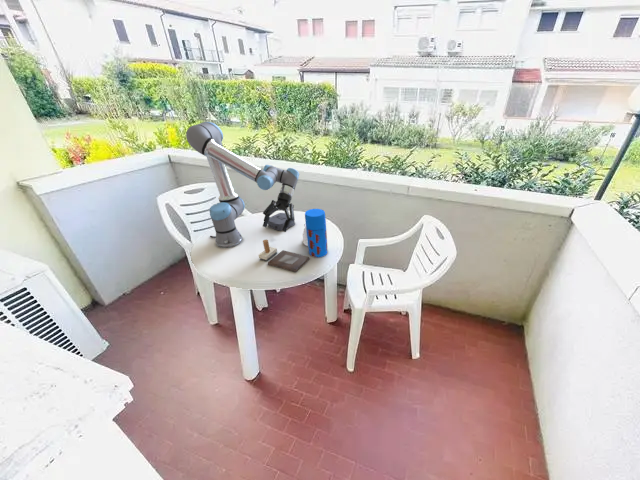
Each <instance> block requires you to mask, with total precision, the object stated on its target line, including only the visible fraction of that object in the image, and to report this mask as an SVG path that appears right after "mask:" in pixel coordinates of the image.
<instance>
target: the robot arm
mask: <svg viewBox="0 0 640 480" xmlns="http://www.w3.org/2000/svg"><path fill="white" fill-rule="evenodd" d="M185 137H186V141H187V142H188V144H189V146H190V147H191V148H192V149H193V150H194V151H196V152H197V153H198V154H200V155H202V156H203V157H205V158H206V160H207V162H208V166H209V168H210V170H211V173H212V177H213V179H214V182H215V185H216V188H217V191H218V193H219V196H218V201H219V202H216V203H214V204H213V205H211V206H210V207H209V210H208V211H209V216H210V218H211V221H212V224H213V228H214V231H215V236H213V235H209V238H213V239H215V244H216V247H218V248H223V249H224V248H225V249H226V248H232V247H235V246H238V245H240V244H241V243H242V242H243V236H242V235H241V233H240V232H239V230H238V229H237V226H236V222H235V221H236V219H237V218H239V216H240V215H242V213H243V212H244V210H245V207H246V206H245V205H246V204H245V201H244V200H243V198H241V197H240V196H239V193H237V192H235V189H234V186H233V182H232V180H231V179H232V178H231V177H230V173H229V170H228V168H229V169H231V170H233V171H234V172H237V173H239V174H241V175H242V176H244V177H245V178H248V179H250V180H251V181H253V182H255V183H256V185H257V187H258V188H259V190H263V191H268V190H270V189H271V188H272V187H273V186H274V185H275V183H280V184H281V186H280V189H279V192H278V195H277V200H274V199H272V200H271V202H270V204H269V205H268V206H267V207H266V208H265V209H264V210H263V212H262V214H263V215H264V218H263V224H262V227H263V228H265V229H267V227H268V222H269V219H270V217H271V215H272V216H273V214H274V213H275V212H277V211H283V212H284V213H285V214H286V217H287V220H286V221H285V224H284V227H283V230H282V232H284V233H287V231H288V229H289V228H290V227H289V225H290V222H291V221H294V220H295V212H294V210H295V209H294V207H295V205H294V204H293V203H291V202H292V199H293V195H294V192H295V190H296V187H297V184H298V182H299V178H300V172H299V171H298V170H297V169H296V168H293V167H288V168H287V169H286V170H285V169H282V168H279V167H276V166H274V165H270V164H265V165H264V167H263V169H262V168H260V167H259V166H256V165H255V164H253V163H251V162H250V161H248V160H246V159H244V158H242V157H241V156H239V155H238V154H236V153H234V152H233V151H231V150H229V149H227V148H226V147H224V146H223V140H224V134H223V131H222V129H221V127H220V126H218V124H216V123H214V122H211V121H203V122H200V123H197V124H193V125H191V126H189V127H188V128H187V129H186V133H185ZM288 208H289V209H288ZM295 221H296V220H295ZM288 227H289V228H288Z"/></svg>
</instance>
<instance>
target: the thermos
mask: <svg viewBox="0 0 640 480" xmlns="http://www.w3.org/2000/svg"><path fill="white" fill-rule="evenodd" d="M304 220H305V223H306V231H307V240H308V246H307V247H308V254H309V256H311V257H313V258H322V257H325V256H326V255H327V254H328V236H327V235H328V234H327V219H326V213H325V210H324V209H322V208H311V209H307V210H306V211H305V212H304Z"/></svg>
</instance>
